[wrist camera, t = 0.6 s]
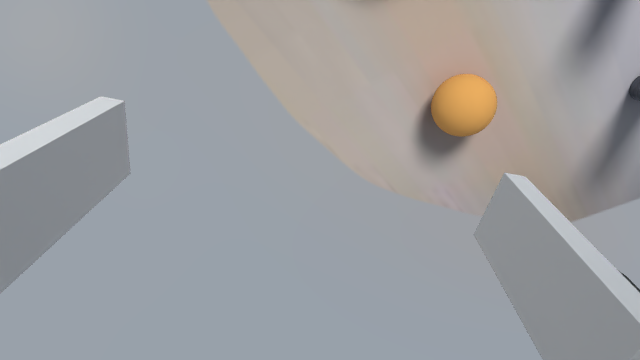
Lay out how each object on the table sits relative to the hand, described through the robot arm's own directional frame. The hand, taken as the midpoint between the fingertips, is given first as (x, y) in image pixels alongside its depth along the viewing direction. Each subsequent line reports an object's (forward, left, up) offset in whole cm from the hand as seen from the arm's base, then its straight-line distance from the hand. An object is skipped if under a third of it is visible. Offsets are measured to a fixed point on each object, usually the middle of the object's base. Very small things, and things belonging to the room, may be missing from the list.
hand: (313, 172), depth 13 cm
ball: (-9, +9, -21) cm, 24 cm away
